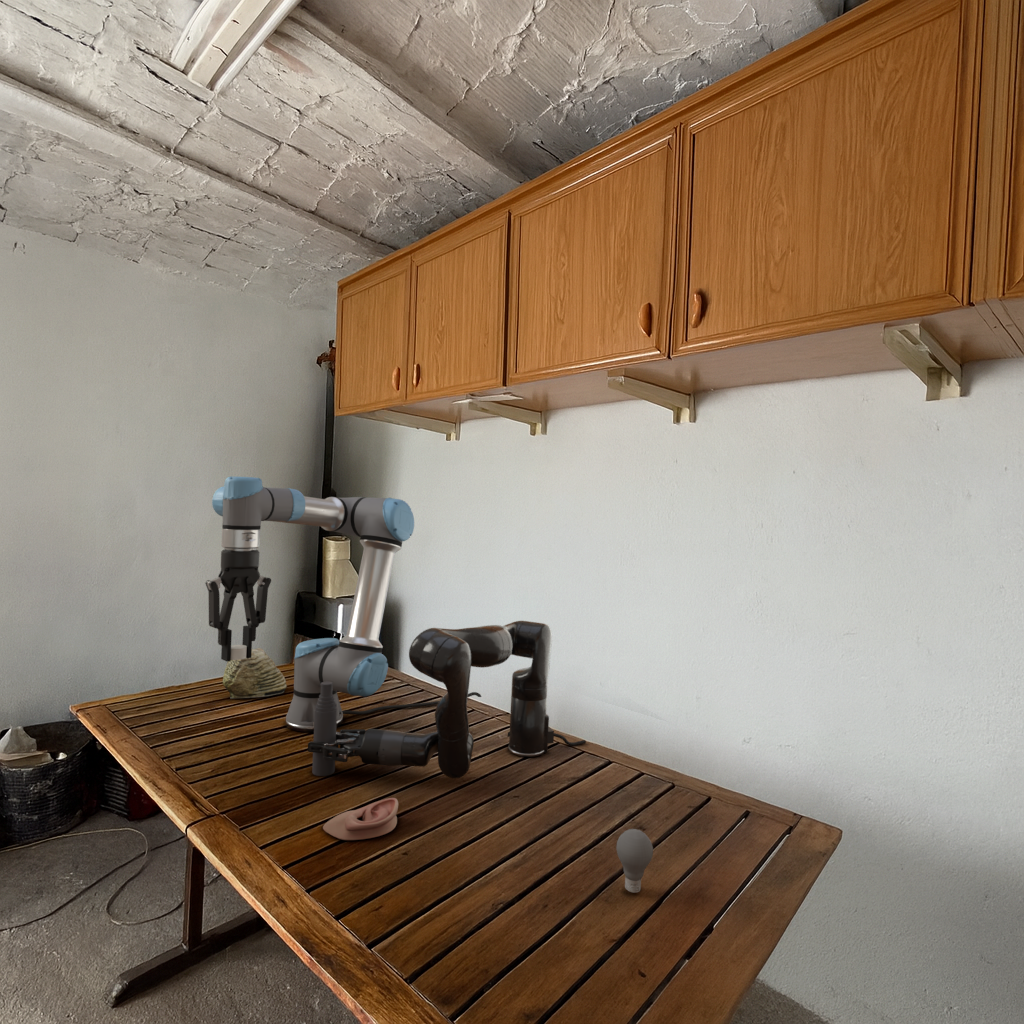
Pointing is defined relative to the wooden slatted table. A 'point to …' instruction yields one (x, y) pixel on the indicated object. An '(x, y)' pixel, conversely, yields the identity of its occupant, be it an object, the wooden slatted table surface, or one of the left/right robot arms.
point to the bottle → (324, 728)
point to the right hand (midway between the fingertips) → (313, 741)
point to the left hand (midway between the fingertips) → (236, 658)
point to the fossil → (253, 676)
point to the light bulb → (634, 857)
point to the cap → (238, 652)
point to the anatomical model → (364, 821)
